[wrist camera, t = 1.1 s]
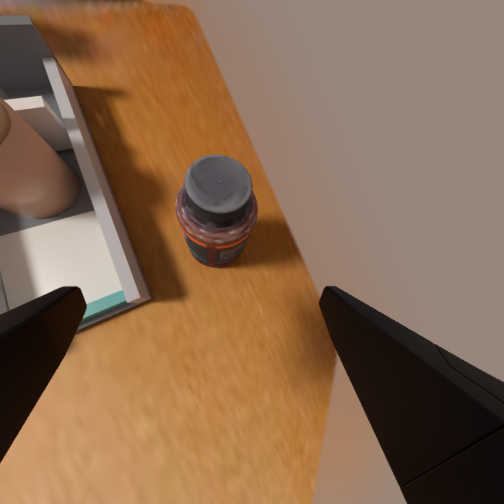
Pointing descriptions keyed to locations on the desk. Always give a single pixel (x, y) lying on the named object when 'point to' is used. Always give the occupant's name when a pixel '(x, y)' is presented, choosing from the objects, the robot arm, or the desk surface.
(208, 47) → the desk surface
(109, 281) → the pusher lane
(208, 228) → the supplement bottle
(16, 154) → the terracotta jar
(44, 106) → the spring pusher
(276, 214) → the desk surface
